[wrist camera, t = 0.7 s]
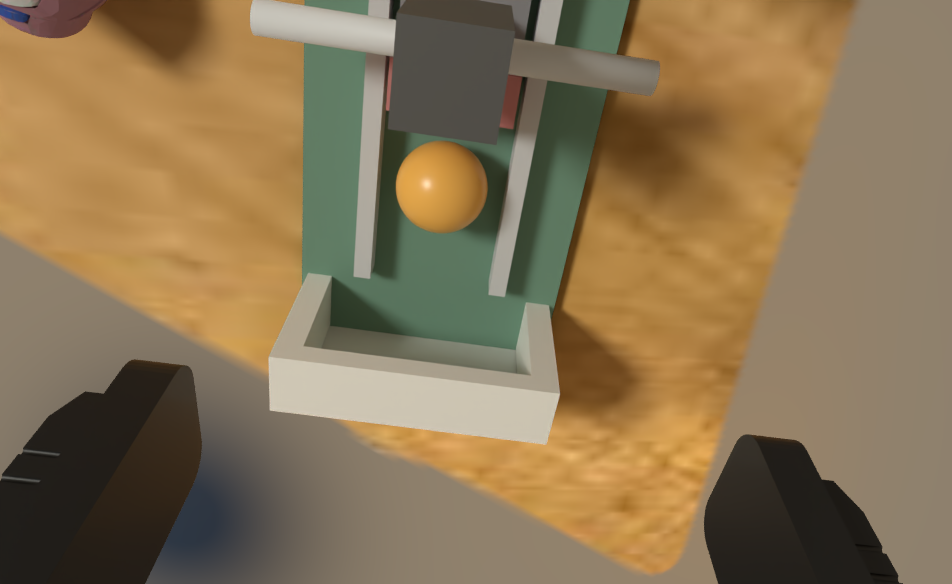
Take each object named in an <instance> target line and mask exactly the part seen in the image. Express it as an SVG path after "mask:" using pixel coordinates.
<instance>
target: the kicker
mask: <svg viewBox="0 0 952 584" xmlns="http://www.w3.org/2000/svg"><path fill="white" fill-rule="evenodd" d="M530 5H531V0H400V9H399V10H398V12H397V15H396V20H394V19H387V18H381V17H374V16H368V15H362V14H355V13H349V12H342V11H336V10H330V9H323V8H317V7H311V6H304V5H298V4H291V3H285V2H279V1H272V0H253V2H252V5H251V11H250V25H251V30H252V33H253V34H254V35H256V36H262V37H269V38H275V39H282V40H288V41H295V42H301V43H308V44H314V45H321V46H327V47H334V48H340V49H347V50H353V51H360V52H367V53H373V54H380V55H386V56H390V60H389V73H388V87H387V101H386V110H387V111H389V119H388V129H390V130H397V131H404V132H410V133H417V134H424V135H431V136H438V137H444V138H451V139H458V140H465V141H471V142H478V143H485V144H492V145H497V139H498V133H499V127H502V128H508V129H513V127H514V121H515V116H516V110H517V104H518V99H519V93H520V87H521V82H522V76H523V77H529V78H536V79H542V80H549V81H555V82H562V83H568V84H575V85H581V86H588V87H594V88H601V89H607V90H614V91H620V92H627V93H633V94H640V95H646V96H651V95H652V94H653V93H654V91H655V89H656V86H657V82H658V78H659V72H660V63H659V61H655V60H649V59H643V58H636V57H630V56H623V55H617V54H611V53H604V52H598V51H591V50H585V49H579V48H572V47H566V46H560V45H553V44H547V43H540V42H534V41H528V40H525V34H526V28H527V23H528V17H529V11H530Z"/></svg>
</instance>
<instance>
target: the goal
mask: <svg viewBox="0 0 952 584" xmlns="http://www.w3.org/2000/svg"><path fill="white" fill-rule="evenodd" d="M331 287H332V276H328V275H321V274H313V273H308V274H307V276H306V279H305V281H304V283H303V285H302V287H301V289H300V291H299V293H298V295H297V298H296V300H295V302H294V304H293V306H292V308H291V310H290V312H289V315H288V317H287V319H286V321H285V323H284V325H283V327H282V329H281V332H280V334H279V336H278V338H277V340H276V342H275V344H274V346H273V349H272V351H271V353H270V355H269V390H270V391H269V392H270V411H279V412H287V413H295V414H303V415H311V416H319V417H327V418H335V419H344V420H352V421H360V422H368V423H376V424H384V425H392V426H400V427H408V428H417V429H425V430H433V431H441V432H449V433H457V434H465V435H473V436H482V437H490V438H498V439H506V440H514V441H522V442H530V443H538V444H547V440H548V437H549V433H550V429H551V426H552V422H553V418H554V415H555V411H556V407H557V404H558V400H559V396H560V389H559V381H558V373H557V365H556V357H555V349H554V341H553V334H552V326H551V318H550V310H549V305H543V304H536V303H528V302H526V305H525V309H524V314H523V318H522V323H521V328H520V332H519V337H518V341H517V346H516V350H512V349H504V348H497V347H489V346H481V345H474V344H466V343H458V342H451V341H443V340H435V339H428V338H420V337H412V336H405V335H397V334H389V333H382V332H374V331H366V330H359V329H351V328H344V327H336V326H330V315H331Z"/></svg>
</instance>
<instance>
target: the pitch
mask: <svg viewBox="0 0 952 584" xmlns="http://www.w3.org/2000/svg"><path fill="white" fill-rule="evenodd" d="M629 1H630V0H531V5H530V11H529V17H528V23H527V28H526V34H525V40H528V41H534V42H540V43H547V44H553V45H560V46H566V47H572V48H579V49H585V50H591V51H598V52H604V53H611V54H617V50H618V46H619V42H620V38H621V34H622V30H623V26H624V22H625V18H626V14H627V10H628V5H629ZM305 6H311V7H317V8H323V9H330V10H336V11H342V12H349V13H355V14H362V15H368V16H374V17H381V18H387V19H394V20H396V15H397V12H398V10H399V9H400V0H305ZM389 60H390V56H386V55H380V54H373V53H367V52H360V51H353V50H347V49H340V48H334V47H327V46H321V45H314V44H308V43H304V127H303V241H302V285H303V283H304V281H305V279H306V276H307V274H308V273H313V274H321V275H328V276H332V287H331V315H330V326H336V327H344V328H351V329H359V330H366V331H374V332H382V333H389V334H397V335H405V336H412V337H420V338H428V339H435V340H443V341H451V342H458V343H466V344H474V345H481V346H489V347H497V348H504V349H512V350H516V346H517V341H518V337H519V332H520V328H521V323H522V318H523V314H524V309H525V305H526V302H528V303H536V304H543V305H549V310H550V318H551V319H552V315H553V311H554V307H555V302H556V298H557V294H558V290H559V286H560V282H561V278H562V274H563V270H564V266H565V262H566V258H567V254H568V250H569V245H570V241H571V237H572V233H573V229H574V225H575V221H576V217H577V213H578V209H579V205H580V201H581V197H582V193H583V189H584V184H585V180H586V176H587V172H588V168H589V164H590V160H591V156H592V152H593V148H594V144H595V140H596V136H597V132H598V128H599V123H600V119H601V115H602V111H603V107H604V103H605V99H606V95H607V91H608V90H607V89H601V88H594V87H588V86H581V85H575V84H568V83H562V82H555V81H549V80H542V79H536V78H529V77H523V76H522V82H521V87H520V93H519V99H518V104H517V110H516V116H515V121H514V127H513V129H508V128H502V127H499V133H498V139H497V145H492V144H485V143H478V142H471V141H465V140H458V139H451V138H444V137H438V136H431V135H424V134H417V133H410V132H404V131H397V130H390V129H388V119H389V111H387V110H386V101H387V87H388V73H389ZM432 141H450V142H455V143H457V144H460V145H462V146H464V147H466V148H467V149H469V150H470V151H471V152H472V153H473V154H474V155H475V156H476V157H477V158H478V159H479V161H480V162H481V164H482V166H483V168H484V170H485V173H486V177H487V183H488V191H487V198H486V202H485V204H484V207H483V209H482V210H481V212H480V214H479V215H478V216H477V218H476V219H475V220H474V221H473V222H472V223H470V224H469V225H468V226H466V227H465V228H463V229H461V230H458V231H455V232H451V233H433V232H429V231H426V230H424V229H422V228H420V227H418V226H416V225H415V224H414V223H412V222H411V221H410V220H409V219H408V218H407V217H406V215H405V214H404V212H403V211H402V209H401V207H400V205H399V203H398V199H397V195H396V179H397V174H398V171H399V168H400V166H401V164H402V162H403V161H404V159H405V158H406V157H407V156H408V155H409V154H410V153H411V152H412V151H413V150H414V149H416V148H417V147H419V146H421V145H423V144H425V143H428V142H432Z"/></svg>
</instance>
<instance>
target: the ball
mask: <svg viewBox="0 0 952 584" xmlns="http://www.w3.org/2000/svg"><path fill="white" fill-rule="evenodd" d="M487 191H488V183H487V177H486V173H485V170H484V168H483V166H482V164H481V162H480V161H479V159H478V158H477V157H476V156H475V155H474V154H473V153H472V152H471V151H470V150H469V149H467V148H466V147H464V146H462V145H460V144H457V143H455V142H450V141H432V142H428V143H425V144H423V145H421V146H419V147H417V148H416V149H414V150H413V151H412V152H411V153H410V154H409V155H408V156H407V157H406V158H405V159H404V161H403V162H402V164H401V166H400V168H399V171H398V174H397V179H396V195H397V199H398V203H399V205H400V207H401V209H402V211H403V212H404V214H405V215H406V217H407V218H408V219H409V220H410V221H411V222H412V223H414V224H415V225H416V226H418V227H420V228H422V229H424V230H426V231H429V232H433V233H451V232H455V231H458V230H461V229H463V228H465V227H466V226H468V225H469V224H470V223H472V222H473V221H474V220H475V219H476V218H477V216H478V215H479V214H480V212H481V210H482V209H483V207H484V204H485V202H486V198H487Z"/></svg>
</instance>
